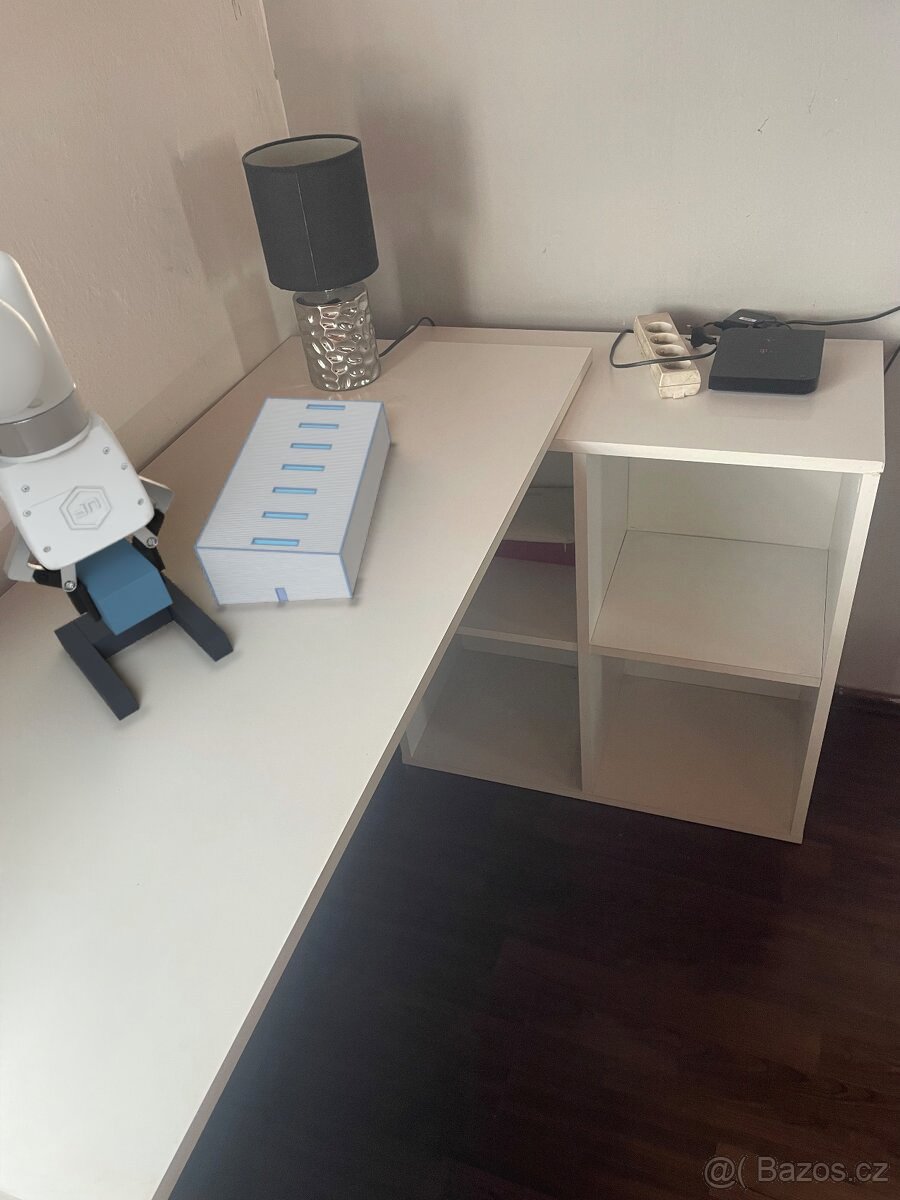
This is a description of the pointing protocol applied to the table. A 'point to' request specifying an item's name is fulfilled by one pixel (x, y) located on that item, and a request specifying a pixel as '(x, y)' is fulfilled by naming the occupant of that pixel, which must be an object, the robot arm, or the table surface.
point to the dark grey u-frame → (99, 642)
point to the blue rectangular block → (123, 585)
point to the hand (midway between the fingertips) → (124, 594)
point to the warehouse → (297, 503)
